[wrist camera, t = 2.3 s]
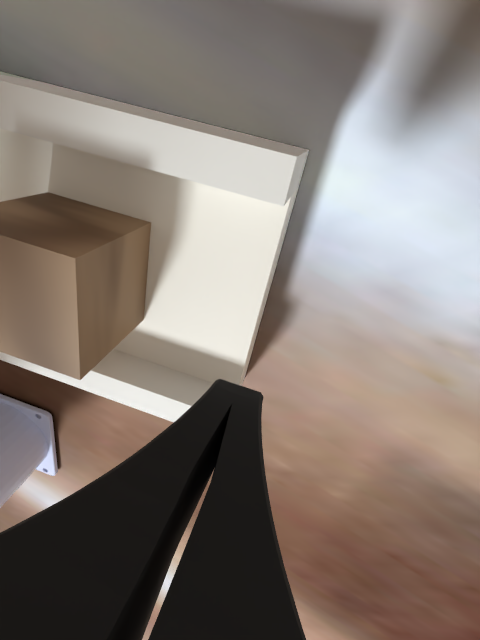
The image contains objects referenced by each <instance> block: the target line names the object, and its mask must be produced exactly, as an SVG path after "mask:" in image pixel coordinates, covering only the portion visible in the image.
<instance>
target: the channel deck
mask: <svg viewBox="0 0 480 640" xmlns="http://www.w3.org/2000/svg"><path fill="white" fill-rule="evenodd" d="M308 153H309V150H308V149H304V148H300V147H296V146H292V145H288V144H284V143H280V142H276V141H272V140H268V139H265V138H261V137H257V136H253V135H249V134H245V133H241V132H237V131H233V130H229V129H225V128H221V127H217V126H213V125H209V124H206V123H202V122H198V121H194V120H190V119H186V118H182V117H178V116H174V115H170V114H166V113H162V112H158V111H154V110H150V109H146V108H143V107H139V106H135V105H131V104H127V103H123V102H119V101H115V100H111V99H107V98H103V97H99V96H95V95H91V94H87V93H84V92H80V91H76V90H72V89H68V88H64V87H60V86H56V85H52V84H48V83H44V82H40V81H36V80H32V79H28V78H25V77H21V76H17V75H13V74H9V73H5V72H1V71H0V202H2V201H7V200H12V199H17V198H22V197H27V196H32V195H37V194H41V193H46V192H49V193H53V194H56V195H59V196H63V197H66V198H70V199H73V200H76V201H80V202H83V203H87V204H90V205H93V206H97V207H100V208H104V209H107V210H110V211H114V212H117V213H121V214H124V215H128V216H131V217H134V218H138V219H141V220H145V221H148V222H151V232H150V245H149V258H148V271H147V284H146V298H145V311H144V320H143V321H142V322H141V323H140V324H139V325H138V326H137V327H136V328H135V329H134V330H133V331H131V332H130V333H129V334H128V335H127V336H126V337H125V338H124V339H123V340H122V341H121V342H120V343H119V344H118V345H117V346H116V347H115V348H114V349H113V350H112V351H111V352H109V353H108V354H107V355H106V356H105V357H104V358H103V359H102V360H101V361H100V362H99V363H98V364H97V365H96V366H95V367H94V368H93V369H92V370H91V371H90V372H88V373H87V374H86V375H85V376H84V377H83V378H82V379H81V380H78V379H75V378H72V377H69V376H67V375H64V374H61V373H58V372H55V371H53V370H50V369H47V368H44V367H41V366H39V365H36V364H33V363H30V362H27V361H25V360H22V359H19V358H16V357H13V356H11V355H8V354H5V353H2V352H0V360H2V361H5V362H8V363H11V364H13V365H16V366H19V367H22V368H24V369H27V370H30V371H33V372H36V373H38V374H41V375H44V376H47V377H49V378H52V379H55V380H58V381H61V382H63V383H66V384H69V385H72V386H74V387H77V388H80V389H83V390H86V391H88V392H91V393H94V394H97V395H99V396H102V397H105V398H108V399H111V400H113V401H116V402H119V403H122V404H124V405H127V406H130V407H133V408H136V409H138V410H141V411H144V412H147V413H149V414H152V415H155V416H158V417H161V418H163V419H166V420H169V421H172V422H175V421H176V420H177V419H178V418H179V417H181V416H182V415H183V414H184V413H185V412H186V411H187V410H188V409H189V408H190V407H191V406H192V405H194V404H195V403H196V402H197V401H198V400H199V399H200V398H201V397H202V395H203V394H204V393H205V392H206V391H207V390H208V389H209V388H210V387H211V386H212V384H213V383H214V382H215V381H216V380H218V379H222V380H225V381H228V382H231V383H234V384H237V385H240V386H242V384H243V381H244V379H245V375H246V372H247V368H248V365H249V361H250V358H251V354H252V351H253V347H254V344H255V340H256V336H257V333H258V329H259V326H260V322H261V319H262V315H263V312H264V308H265V305H266V301H267V298H268V294H269V291H270V287H271V284H272V280H273V276H274V273H275V269H276V266H277V262H278V259H279V255H280V252H281V248H282V245H283V241H284V238H285V234H286V231H287V227H288V224H289V220H290V217H291V213H292V209H293V206H294V202H295V199H296V195H297V192H298V188H299V185H300V181H301V178H302V174H303V171H304V167H305V164H306V160H307V157H308Z"/></svg>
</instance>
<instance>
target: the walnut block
mask: <svg viewBox="0 0 480 640" xmlns="http://www.w3.org/2000/svg"><path fill="white" fill-rule="evenodd" d="M150 232H151V222H148V221H145V220H141V219H138V218H134V217H131V216H128V215H124V214H121V213H117V212H114V211H110V210H107V209H104V208H100V207H97V206H93V205H90V204H87V203H83V202H80V201H76V200H73V199H70V198H66V197H63V196H59V195H56V194H53V193H49V192H46V193H41V194H37V195H32V196H27V197H22V198H17V199H12V200H7V201H2V202H0V352H2V353H5V354H8V355H11V356H13V357H16V358H19V359H22V360H25V361H27V362H30V363H33V364H36V365H39V366H41V367H44V368H47V369H50V370H53V371H55V372H58V373H61V374H64V375H67V376H69V377H72V378H75V379H78V380H81V379H82V378H83V377H84V376H85V375H86V374H87V373H88V372H90V371H91V370H92V369H93V368H94V367H95V366H96V365H97V364H98V363H99V362H100V361H101V360H102V359H103V358H104V357H105V356H106V355H107V354H108V353H109V352H111V351H112V350H113V349H114V348H115V347H116V346H117V345H118V344H119V343H120V342H121V341H122V340H123V339H124V338H125V337H126V336H127V335H128V334H129V333H130V332H131V331H133V330H134V329H135V328H136V327H137V326H138V325H139V324H140V323H141V322H142V321H143V320H144V311H145V298H146V284H147V271H148V258H149V245H150Z"/></svg>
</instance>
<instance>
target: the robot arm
mask: <svg viewBox="0 0 480 640" xmlns="http://www.w3.org/2000/svg"><path fill="white" fill-rule="evenodd" d="M262 401H263V395H262V394H261V392H258V391H255V390H252V389H249V388H246V387H243V386H240V385H237V384H234V383H231V382H228V381H225V380H222V379H218V380H216V381H215V382H214V383H213V384H212V386H211V387H210V388H209V389H208V390H207V391H206V392H205V393H204V394H203V395H202V397H201V398H200V399H199V400H198V401H197V402H196V403H195V404H194V405H192V406H191V407H190V408H189V409H188V410H187V411H186V412H185V413H184V414H183V415H182V416H181V417H179V418H178V419H177V420H176V421H175V422H174V423H173V424H172V425H170V426H169V427H168V428H167V429H166V430H164V431H163V432H162V433H161V434H159V435H158V436H157V437H156V438H154V439H153V440H152V441H151V442H149V443H148V444H147V445H146V446H144V447H143V448H142V449H140V450H139V451H138V452H136V453H135V454H133V455H132V456H131V457H129V458H128V459H126V460H125V461H124V462H122V463H121V464H119V465H118V466H116V467H115V468H113V469H112V470H110V471H109V472H107V473H106V474H104V475H103V476H101V477H99V478H98V479H96V480H95V481H93V482H91V483H90V484H88V485H87V486H85V487H83V488H82V489H80V490H78V491H77V492H75V493H73V494H72V495H70V496H68V497H67V498H65V499H63V500H61V501H60V502H58V503H56V504H54V505H52V506H50V507H48V508H47V509H45V510H43V511H41V512H39V513H37V514H35V515H33V516H32V517H30V518H28V519H26V520H24V521H22V522H20V523H18V524H17V525H15V526H13V527H11V528H9V529H7V530H5V531H3V532H1V533H0V640H142V638H143V635H144V632H145V630H146V627H147V624H148V622H149V619H150V616H151V614H152V611H153V608H154V606H155V603H156V600H157V598H158V595H159V592H160V590H161V587H162V585H163V582H164V579H165V577H166V574H167V571H168V569H169V566H170V563H171V561H172V558H173V556H174V554H175V551H176V549H177V547H178V544H179V542H180V540H181V538H182V536H183V534H184V531H185V529H186V527H187V525H188V523H189V521H190V519H191V517H192V514H193V512H194V510H195V508H196V506H197V504H198V502H199V500H200V498H201V495H202V493H203V491H204V489H205V487H206V485H207V483H208V481H209V478H210V476H211V474H212V472H213V470H214V472H213V476H212V480H211V483H210V486H209V488H208V491H207V493H206V496H205V498H204V501H203V504H202V506H201V509H200V511H199V514H198V517H197V519H196V522H195V524H194V527H193V529H192V532H191V534H190V537H189V540H188V542H187V545H186V547H185V550H184V552H183V555H182V557H181V560H180V562H179V565H178V567H177V570H176V572H175V575H174V577H173V580H172V582H171V585H170V587H169V590H168V592H167V595H166V597H165V600H164V602H163V605H162V607H161V610H160V612H159V615H158V617H157V620H156V622H155V625H154V627H153V630H152V632H151V635H150V637H149V639H148V640H306V638H305V635H304V632H303V629H302V625H301V622H300V619H299V615H298V612H297V609H296V605H295V602H294V598H293V595H292V592H291V588H290V585H289V582H288V578H287V575H286V571H285V568H284V564H283V560H282V556H281V552H280V548H279V544H278V540H277V535H276V531H275V526H274V522H273V517H272V512H271V507H270V501H269V495H268V489H267V483H266V476H265V468H264V459H263V448H262V434H261V412H262ZM214 468H215V469H214ZM35 469H36V470H39V471H41V472H44V473H46V474H49V475H51V476H54V475H56V473H57V472H58V467H57V458H56V448H55V438H54V429H53V419H52V415H51V414H50V413H49V412H47V411H45V410H42V409H39V408H37V407H34V406H31V405H29V404H26V403H23V402H21V401H18V400H15V399H13V398H10V397H7V396H5V395H2V394H0V508H1V507H2V506H3V504H4V503H5V502H6V501H7V500H8V499H9V498H10V497H11V496H12V495H13V493H14V492H15V491H16V490H17V489H18V488H19V487H20V486H21V485H22V483H23V482H24V481H25V480H26V479H27V478H28V477H29V476H30V475H31V474H32V472H33V471H34V470H35Z"/></svg>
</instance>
